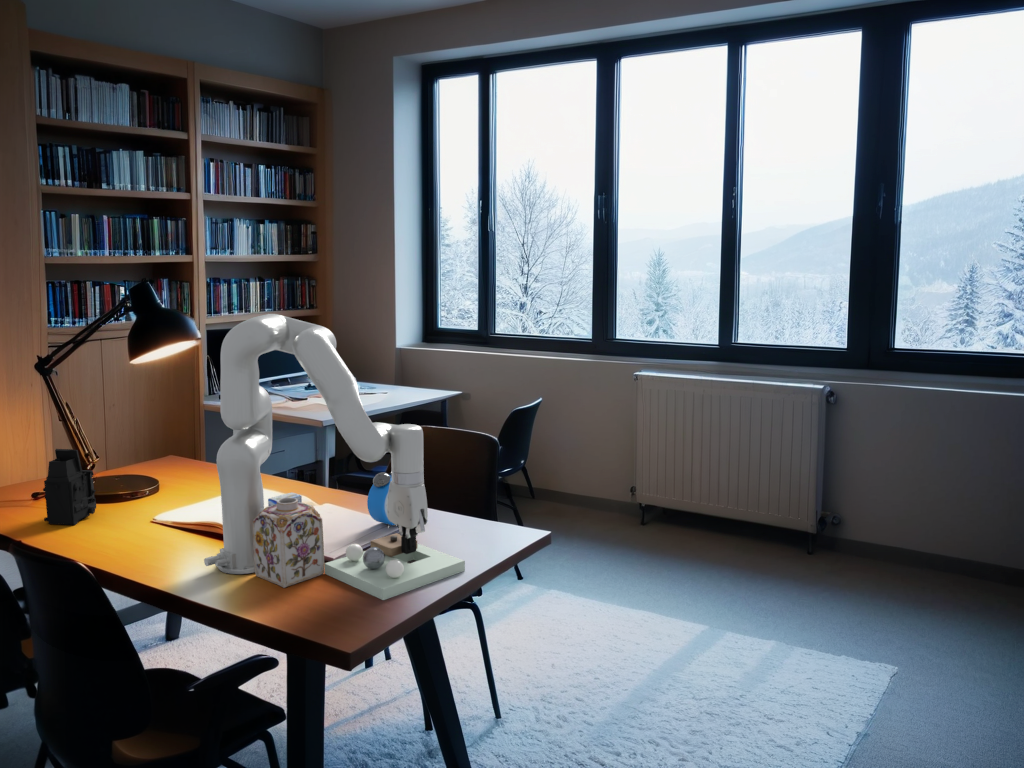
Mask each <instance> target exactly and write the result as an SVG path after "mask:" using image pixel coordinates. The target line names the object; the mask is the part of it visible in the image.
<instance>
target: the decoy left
mask: <svg viewBox="0 0 1024 768" xmlns="http://www.w3.org/2000/svg"><path fill="white" fill-rule="evenodd" d="M363 551H364V550H363V547H362V546H361V545H360V544H358V543H352V544H351V543H350V544H349V545H348V546H347V547H346V549H345V557H347V558H348V559H349V560H351V561H357V560H359V559H360V558H361V557H362V555H363Z"/></svg>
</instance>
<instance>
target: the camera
mask: <svg viewBox="0 0 1024 768" xmlns="http://www.w3.org/2000/svg"><path fill="white" fill-rule="evenodd" d="M54 453H55V457H56V458H55V459H54V460H53V459H52V460H49V461H48V468H47V470H48V471H47V476H46V478H45V480H44V481H43V482H44V483H43V484H44V487H43V488H42V491H43V492H44V499H45V506H46V507H45V508H46V509H45V510H46V516H47V517H44V518H43V521H44V522H47V523H48V524H49V525H64V526H65V525H67V526H76V525H78V522H81V520H84V519H85V518H86V517H89V516H90V515H94V514H95V511H96V509H97V502H96V497H95V493H96V489H95V487H94V485H95V484H94V478H95V476H94V471H93V470H83V468H82V465H81V459H80V456H79V451H78V449H71V448H68V449H66V448H64V449H63V448H55V450H54Z"/></svg>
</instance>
